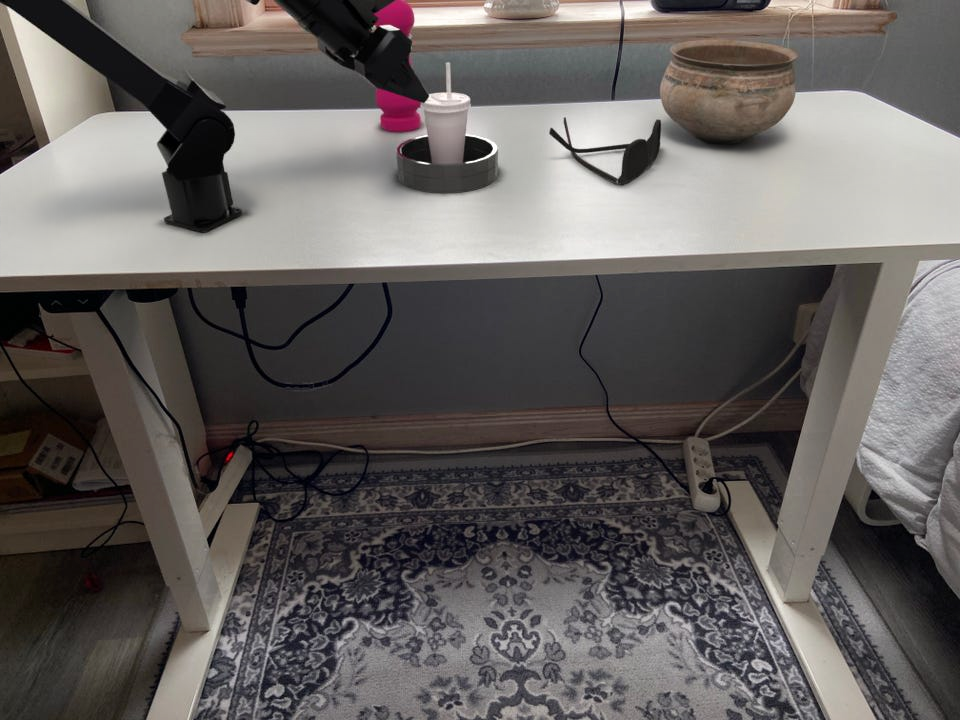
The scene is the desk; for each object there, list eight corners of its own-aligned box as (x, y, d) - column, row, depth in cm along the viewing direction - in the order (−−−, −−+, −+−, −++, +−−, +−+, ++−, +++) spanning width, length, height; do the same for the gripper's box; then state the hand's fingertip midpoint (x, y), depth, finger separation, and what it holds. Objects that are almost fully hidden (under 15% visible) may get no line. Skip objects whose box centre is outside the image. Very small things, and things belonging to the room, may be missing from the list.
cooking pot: (818, 161, 104) (841, 69, 97) (685, 167, 102) (699, 73, 95) (745, 112, 124) (760, 33, 118) (634, 116, 123) (642, 36, 116)
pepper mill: (432, 124, 120) (427, -15, 109) (405, 135, 115) (396, -9, 104) (396, 117, 123) (387, -18, 112) (368, 128, 118) (356, -12, 107)
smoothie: (454, 184, 96) (451, 70, 89) (414, 175, 99) (407, 64, 91) (480, 170, 101) (480, 60, 93) (441, 162, 104) (437, 54, 96)
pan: (466, 199, 93) (466, 171, 91) (378, 182, 98) (376, 155, 96) (513, 167, 102) (514, 141, 100) (431, 153, 108) (430, 128, 106)
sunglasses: (574, 137, 114) (576, 103, 111) (668, 150, 108) (672, 115, 105) (528, 171, 101) (529, 134, 99) (631, 188, 96) (635, 149, 93)
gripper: (387, -57, 74) (487, 50, 84) (330, -69, 88) (422, 24, 98) (319, 36, 76) (426, 131, 86) (274, 10, 89) (370, 94, 100)
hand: (411, 90), depth 92 cm, fingers open, 9 cm apart
